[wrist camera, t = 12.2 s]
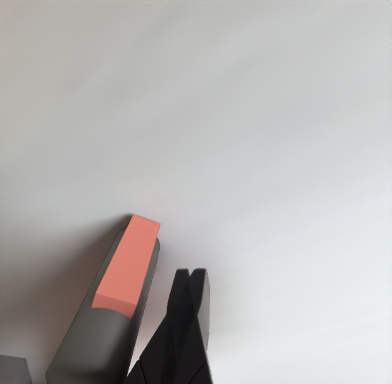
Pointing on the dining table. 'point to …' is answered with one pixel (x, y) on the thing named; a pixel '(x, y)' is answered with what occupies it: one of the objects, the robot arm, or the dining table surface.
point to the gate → (110, 312)
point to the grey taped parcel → (14, 370)
